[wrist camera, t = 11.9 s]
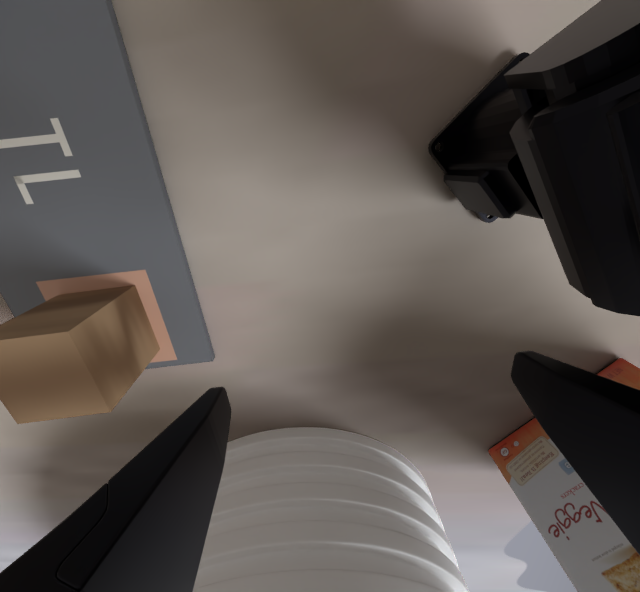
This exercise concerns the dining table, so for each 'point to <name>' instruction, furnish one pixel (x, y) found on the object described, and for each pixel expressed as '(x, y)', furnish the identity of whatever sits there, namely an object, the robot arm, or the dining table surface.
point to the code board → (85, 175)
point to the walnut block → (74, 354)
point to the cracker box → (570, 505)
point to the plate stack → (323, 519)
